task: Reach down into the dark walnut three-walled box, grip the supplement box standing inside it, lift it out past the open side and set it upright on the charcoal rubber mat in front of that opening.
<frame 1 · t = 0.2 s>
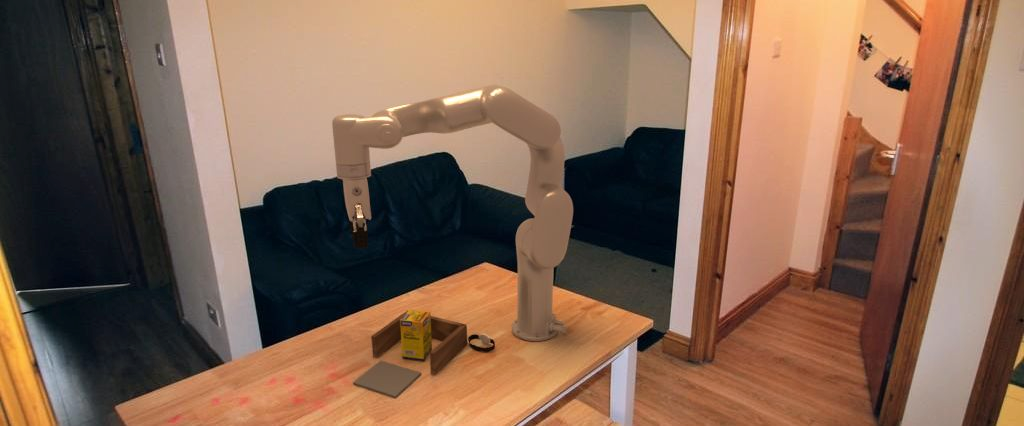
hand: (359, 240, 127), 30 cm above the table, tool pointing down, fingers open, 9 cm apart
supplement box: (417, 355, 135), on the table
open box: (417, 354, 135), on the table
watch: (481, 348, 139), on the table
mat: (387, 379, 125), on the table
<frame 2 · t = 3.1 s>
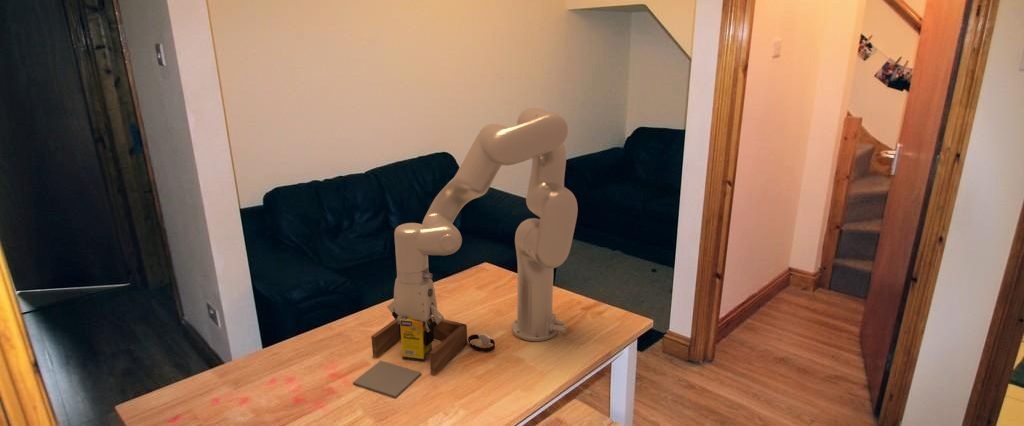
hand: (416, 339, 134), 4 cm above the table, tool pointing down, fingers closed on supplement box, 6 cm apart
supplement box: (417, 355, 135), on the table, touching gripper
everything else where it was.
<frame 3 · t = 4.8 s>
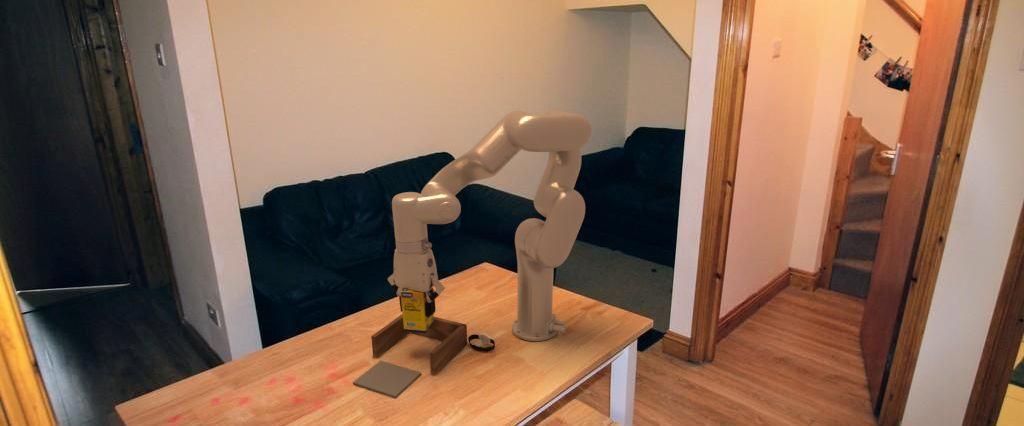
hand: (417, 311, 132), 12 cm above the table, tool pointing down, fingers closed on supplement box, 6 cm apart
supplement box: (419, 327, 133), point 7 cm above the table, touching gripper
everything else where it was.
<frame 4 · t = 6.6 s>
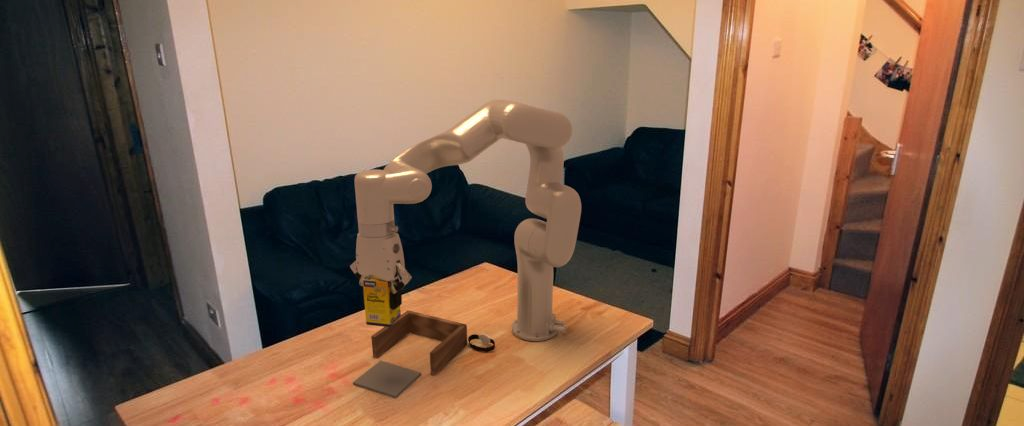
hand: (382, 303, 119), 20 cm above the table, tool pointing down, fingers closed on supplement box, 6 cm apart
supplement box: (384, 321, 121), point 15 cm above the table, touching gripper
everything else where it was.
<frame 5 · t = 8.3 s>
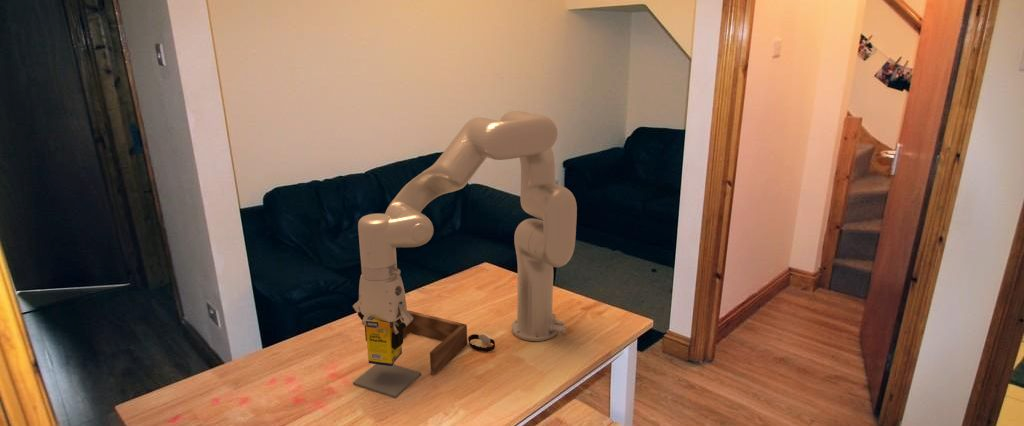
hand: (384, 342, 122), 10 cm above the table, tool pointing down, fingers closed on supplement box, 6 cm apart
supplement box: (385, 359, 123), point 5 cm above the table, touching gripper
everything else where it was.
when the fingers open (6 cm above the table, at t = 10.0 s): supplement box drops 1 cm, resting on mat.
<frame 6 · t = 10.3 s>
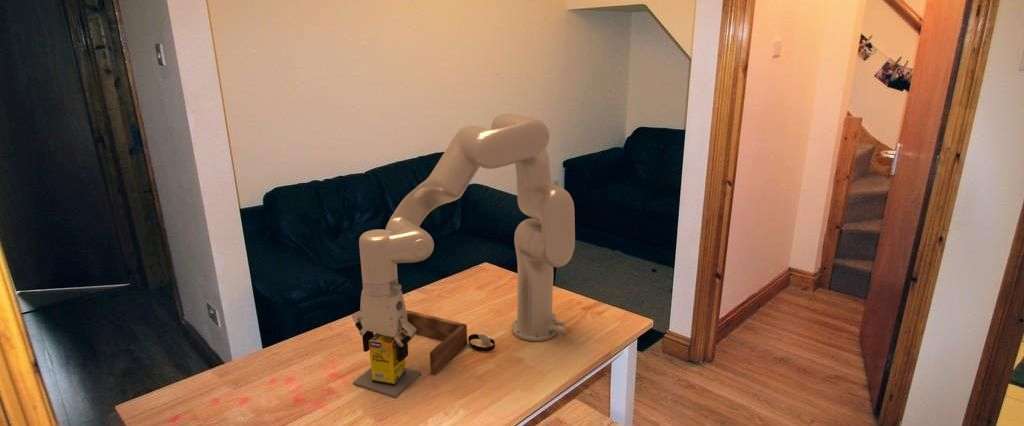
hand: (385, 353, 123), 7 cm above the table, tool pointing down, fingers open, 9 cm apart
supplement box: (389, 378, 125), resting on mat
everything else where it was.
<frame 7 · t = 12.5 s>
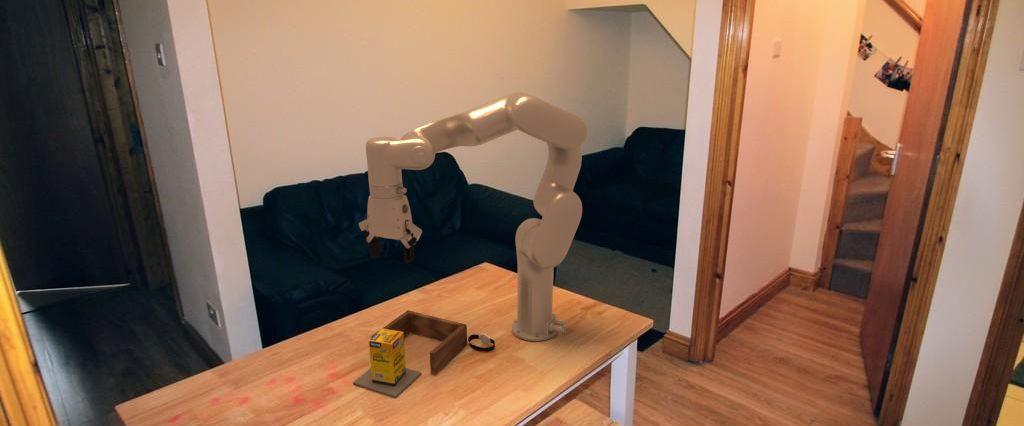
hand: (392, 258, 130), 25 cm above the table, tool pointing down, fingers open, 9 cm apart
nothing on the table moved.
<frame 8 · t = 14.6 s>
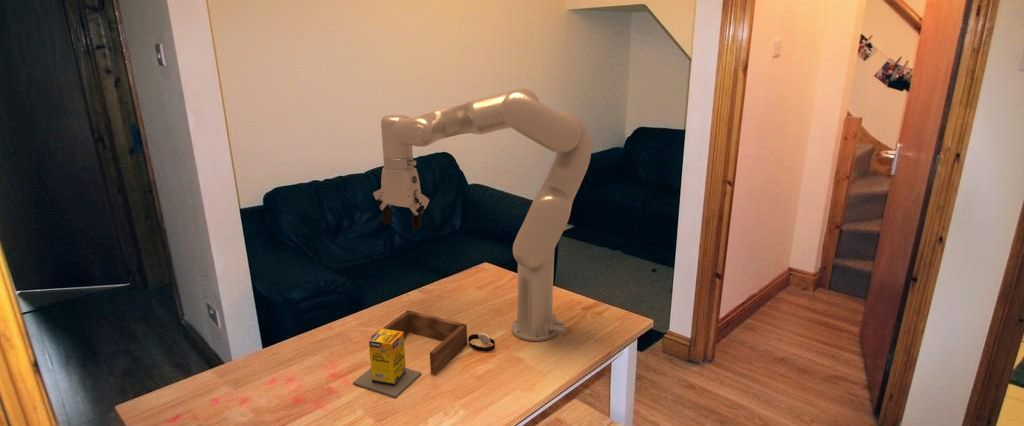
hand: (402, 225, 144), 28 cm above the table, tool pointing down, fingers open, 9 cm apart
nothing on the table moved.
at the end: supplement box inside the target area on the mat (0.4 cm from its centre), point 0.4 cm above the mat's base; supplement box tilted 0°; the gripper is holding nothing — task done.
